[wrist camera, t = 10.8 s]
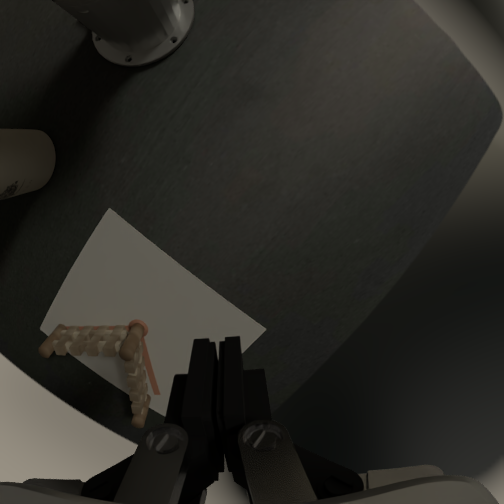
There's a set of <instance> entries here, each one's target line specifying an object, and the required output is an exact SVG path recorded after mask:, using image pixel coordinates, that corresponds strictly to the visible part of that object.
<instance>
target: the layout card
mask: <svg viewBox="0 0 504 504" xmlns="http://www.w3.org/2000/svg"><path fill="white" fill-rule="evenodd" d="M134 323H140V324H142V325H143V326H144V329H145V331H144V333H143V336H142V338H141V340H140V341H141V342H143V349H144V350H143V353H142V356H144V359H145V366H144V370H146V377H147V378H146V381H145V383H147V386H148V392H147V394H148V395H150V397H151V401H150V404H149V408H151V409H153V410H155V411H156V412H158V413H160V414H161V415H163V416H166V411H167V407H168V402H169V397H170V392H171V388H172V383H173V379H174V375H175V374H188V369H189V363H190V357H191V352H192V346H193V341H194V339H202V338H209V340H210V342H215V343H216V350H217V356H218V358H219V341H225V337H232V336H240V342H241V351H242V353H243V352H244V351H245V350H246V349H247V348H248V347H249V346H250V345H251V344H252V343H253V342H254V341H255V340H256V339H257V338H258V337H259V336H260V335H261V334H262V333H263V332H264V331H265V330H266V328H264V327H263V326H261V325H260V324H259V323H257V322H256V321H254V320H253V319H252V318H250V317H249V316H248V315H246V314H245V313H243V312H242V311H241V310H239V309H238V308H237V307H235V306H234V305H233V304H231V303H230V302H229V301H227V300H226V299H224V298H223V297H222V296H220V295H219V294H218V293H216V292H215V291H214V290H212V289H211V288H210V287H209V286H207V285H206V284H205V283H203V282H202V281H201V280H199V279H198V278H197V277H195V276H194V275H193V274H191V273H190V272H189V271H188V270H186V269H185V268H184V267H182V266H181V265H180V264H179V263H177V262H176V261H175V260H173V259H172V258H171V257H170V256H168V255H167V254H166V253H165V252H163V251H162V250H161V249H160V248H158V247H157V246H156V245H155V244H153V243H152V242H151V241H150V240H148V239H147V238H146V237H145V236H143V235H142V234H141V233H140V232H138V231H137V230H136V229H135V228H133V227H132V226H131V225H130V224H129V223H127V222H126V221H125V220H124V219H123V218H121V217H120V216H119V215H118V214H116V213H115V212H114V211H113V210H112V209H110V208H109V209H108V210H107V212H106V213H105V215H104V216H103V218H102V219H101V221H100V222H99V224H98V226H97V227H96V229H95V230H94V232H93V233H92V235H91V237H90V238H89V240H88V241H87V243H86V245H85V246H84V248H83V250H82V251H81V253H80V255H79V256H78V258H77V260H76V261H75V263H74V265H73V267H72V268H71V270H70V272H69V274H68V275H67V277H66V279H65V281H64V283H63V284H62V286H61V288H60V290H59V292H58V294H57V296H56V297H55V299H54V301H53V303H52V305H51V307H50V309H49V311H48V313H47V315H46V317H45V319H44V321H43V323H42V325H41V327H40V330H42V331H43V332H44V333H45V334H46V335H47V336H49V335H50V334H51V333H52V332H53V331H54V329H55V328H56V327H57V326H58V325H59V324H63V325H65V326H66V328H67V330H68V328H69V327H70V326H79V329H80V330H82V329H83V328H84V326H93V327H94V330H97V329H98V328H99V326H103V325H109V328H110V330H113V329H114V328H115V326H116V325H125V327H126V330H127V331H128V333H129V331H130V329H131V327H132V325H133V324H134ZM106 341H107V340H106ZM124 341H125V340H123V342H122V345H123V343H124ZM68 352H69V353H70V354H71V352H70V351H68ZM74 357H75V358H76V359H78V360H79V361H80V362H82V363H83V364H85V365H86V366H87V367H89V368H90V369H91V370H93V371H94V372H96V373H97V374H98V375H100V376H101V377H103V378H104V379H106V380H107V381H109V382H110V383H112V384H113V385H115V386H116V387H118V388H119V389H121V390H122V391H124V392H125V393H127V394H128V395H129V391H130V389H131V388H130V387H128V386H127V380H126V379H127V376H128V374H129V373H125V367H124V363H125V360H123V359H121V358H120V356H119V352H117V354H116V356H115V357H105V355H104V353H103V352H100V353H99V354H98V356H88V355H87V353H86V352H84V351H83V353H82V355H81V356H74Z"/></svg>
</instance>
